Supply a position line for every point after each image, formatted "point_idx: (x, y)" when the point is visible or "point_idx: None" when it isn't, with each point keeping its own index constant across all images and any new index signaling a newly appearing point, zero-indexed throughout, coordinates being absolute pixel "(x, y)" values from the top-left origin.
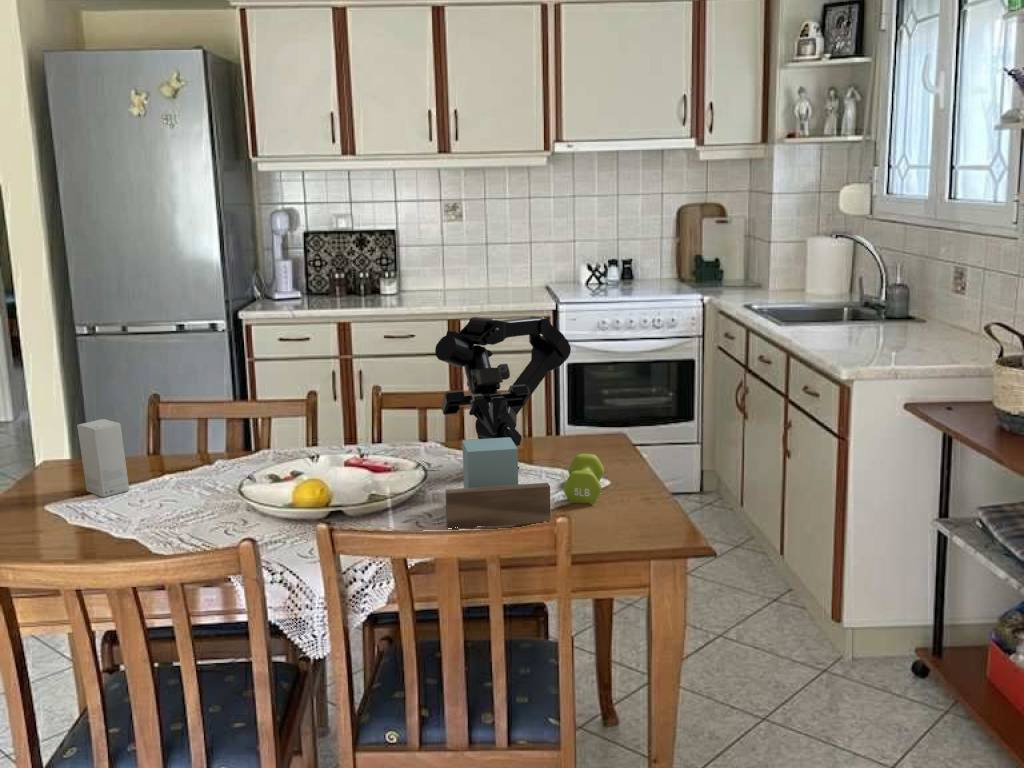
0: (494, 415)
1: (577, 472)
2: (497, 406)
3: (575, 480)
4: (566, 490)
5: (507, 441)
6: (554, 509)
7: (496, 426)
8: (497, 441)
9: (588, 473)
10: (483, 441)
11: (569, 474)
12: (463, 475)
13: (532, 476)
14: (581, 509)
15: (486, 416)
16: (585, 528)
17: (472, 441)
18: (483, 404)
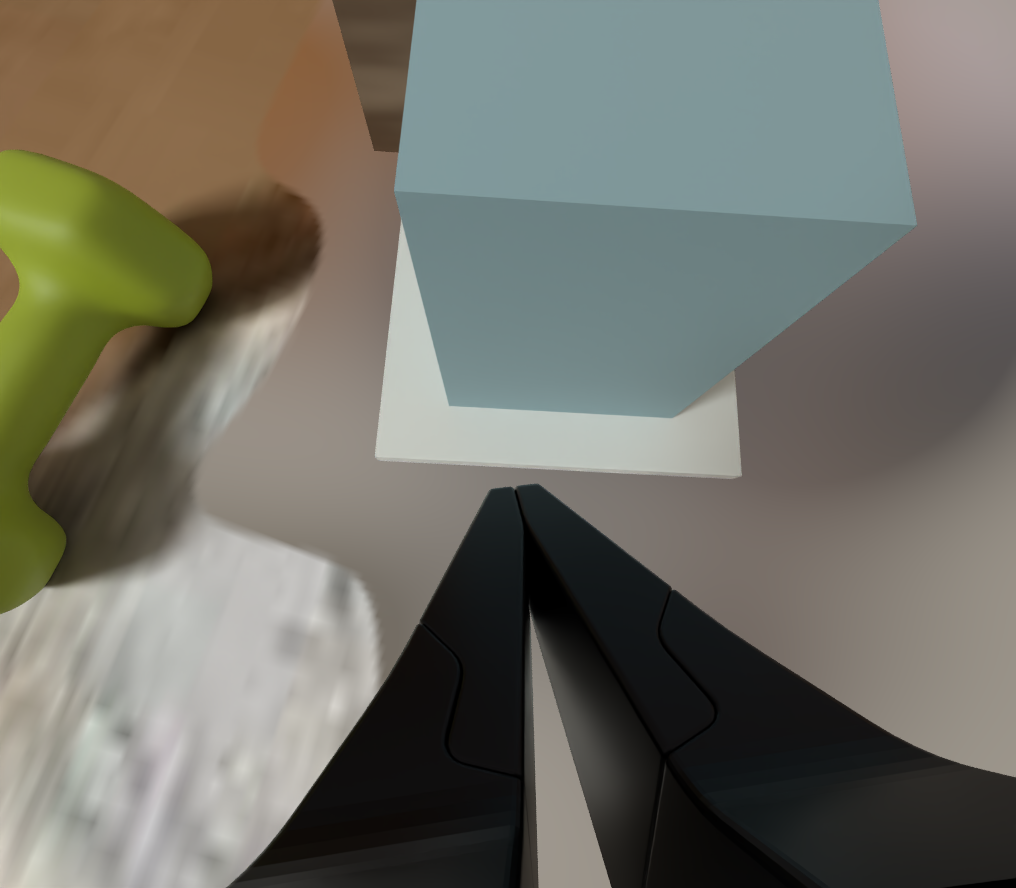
0: (493, 638)
1: (67, 177)
2: (333, 883)
3: (121, 186)
4: (199, 246)
5: (464, 64)
6: (303, 265)
7: (482, 523)
8: (562, 87)
9: (14, 151)
10: (701, 123)
11: (47, 553)
12: (730, 369)
13: (224, 808)
14: (197, 237)
15: (676, 617)
16: (268, 64)
17: (811, 154)
18: (999, 851)
